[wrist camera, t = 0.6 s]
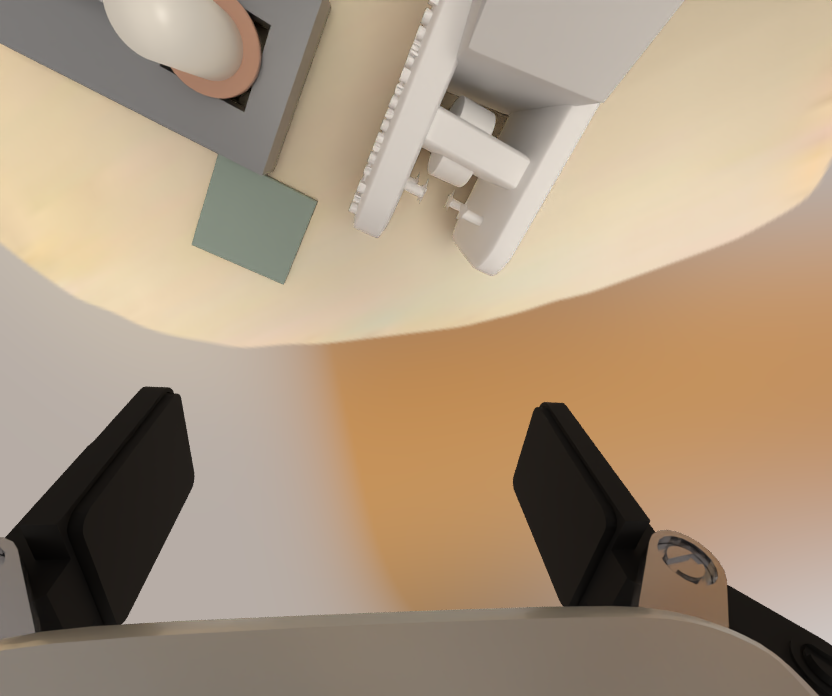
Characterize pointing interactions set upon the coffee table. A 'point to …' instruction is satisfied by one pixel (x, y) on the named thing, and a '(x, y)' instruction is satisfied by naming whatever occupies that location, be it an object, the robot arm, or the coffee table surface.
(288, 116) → the grey block with hole
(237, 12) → the plug
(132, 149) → the coffee table surface
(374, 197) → the cable organizer
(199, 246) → the mat
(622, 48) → the milk carton
